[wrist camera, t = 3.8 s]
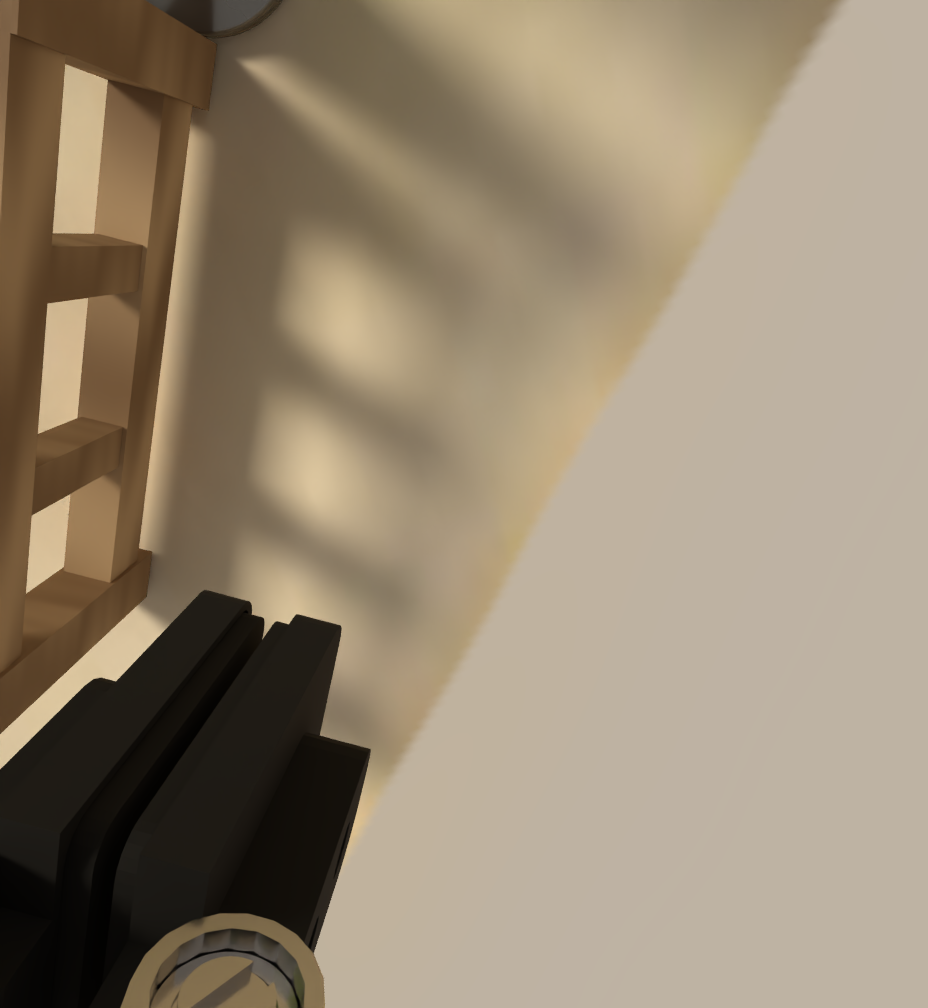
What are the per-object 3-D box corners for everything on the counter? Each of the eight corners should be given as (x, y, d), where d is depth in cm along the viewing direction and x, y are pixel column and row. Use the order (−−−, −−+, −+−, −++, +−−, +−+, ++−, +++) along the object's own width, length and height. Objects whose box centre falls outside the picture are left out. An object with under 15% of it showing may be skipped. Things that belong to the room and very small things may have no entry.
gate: (157, 29, 19) (-74, -101, 11) (216, 44, 19) (22, -75, 11) (98, 584, 23) (-94, 738, 16) (146, 596, 23) (-24, 756, 16)
